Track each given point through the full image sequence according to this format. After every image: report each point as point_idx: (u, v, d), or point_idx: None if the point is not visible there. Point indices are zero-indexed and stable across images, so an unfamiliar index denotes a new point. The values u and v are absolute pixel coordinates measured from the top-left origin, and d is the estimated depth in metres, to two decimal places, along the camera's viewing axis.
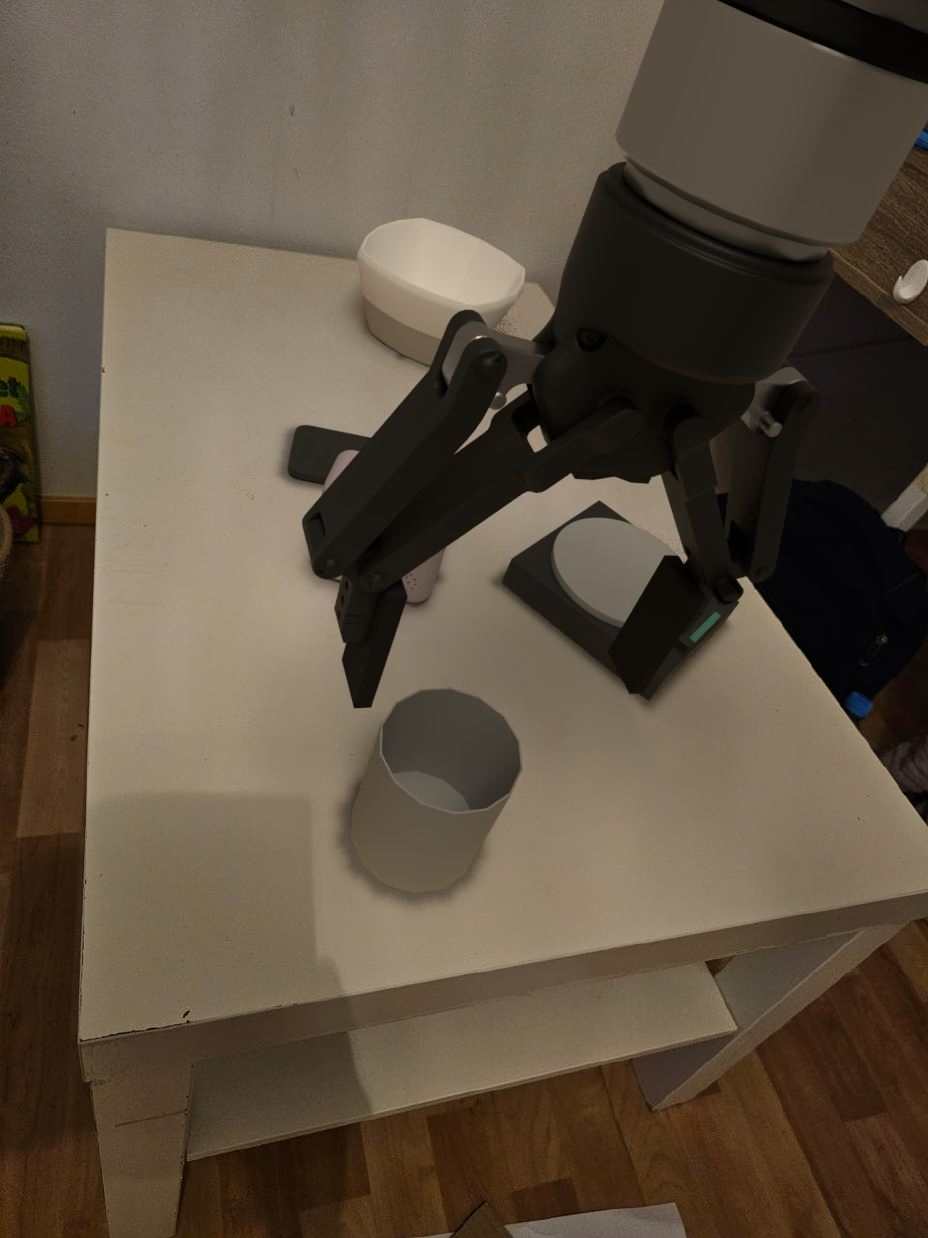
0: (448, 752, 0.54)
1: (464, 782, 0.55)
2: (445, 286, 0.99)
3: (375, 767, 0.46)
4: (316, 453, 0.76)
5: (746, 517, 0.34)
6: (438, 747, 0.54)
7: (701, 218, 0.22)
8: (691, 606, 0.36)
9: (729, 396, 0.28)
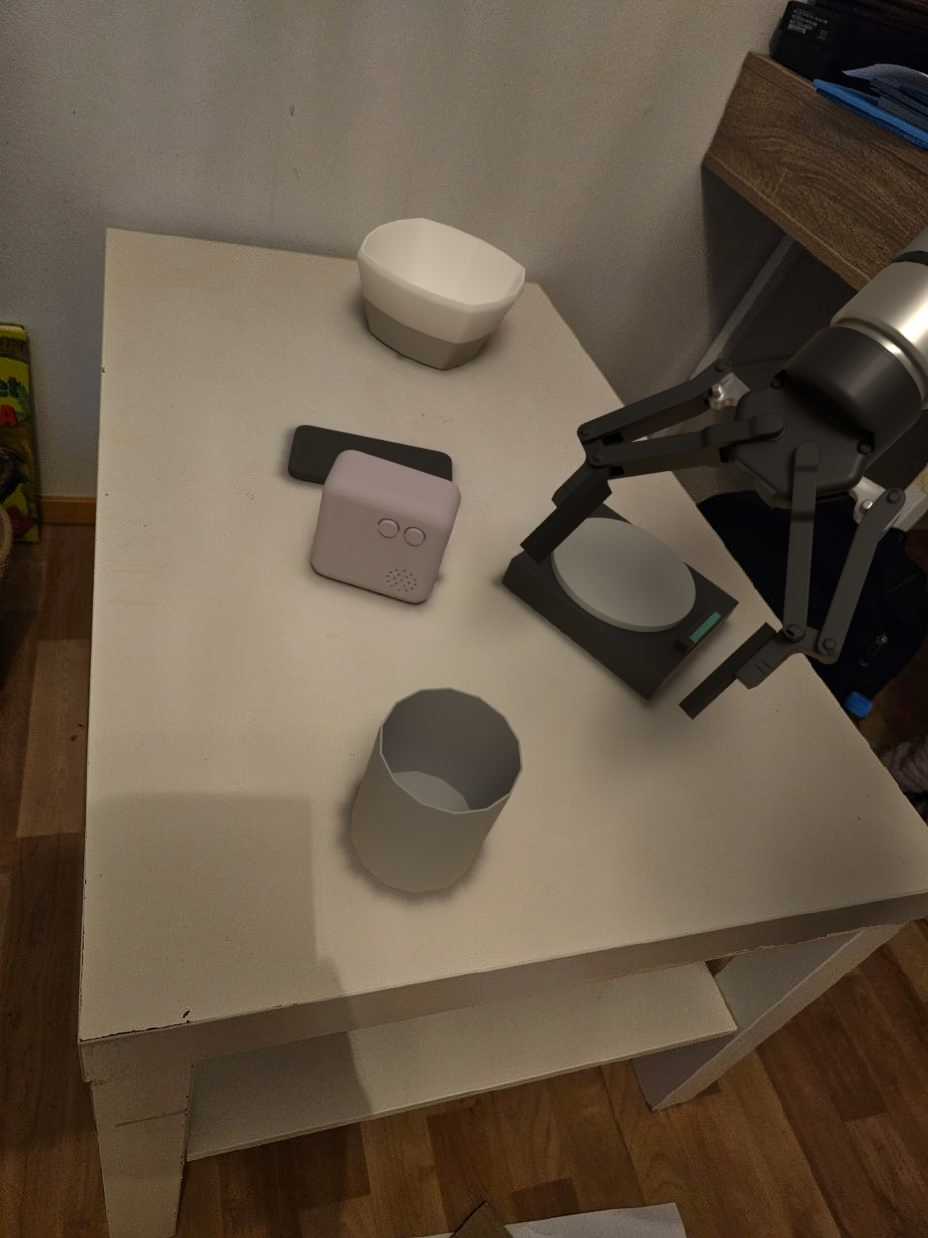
0: (448, 752, 0.54)
1: (464, 782, 0.55)
2: (445, 286, 0.99)
3: (375, 767, 0.46)
4: (316, 453, 0.76)
5: None
6: (438, 747, 0.54)
7: (846, 326, 0.46)
8: (762, 632, 0.45)
9: (842, 460, 0.46)
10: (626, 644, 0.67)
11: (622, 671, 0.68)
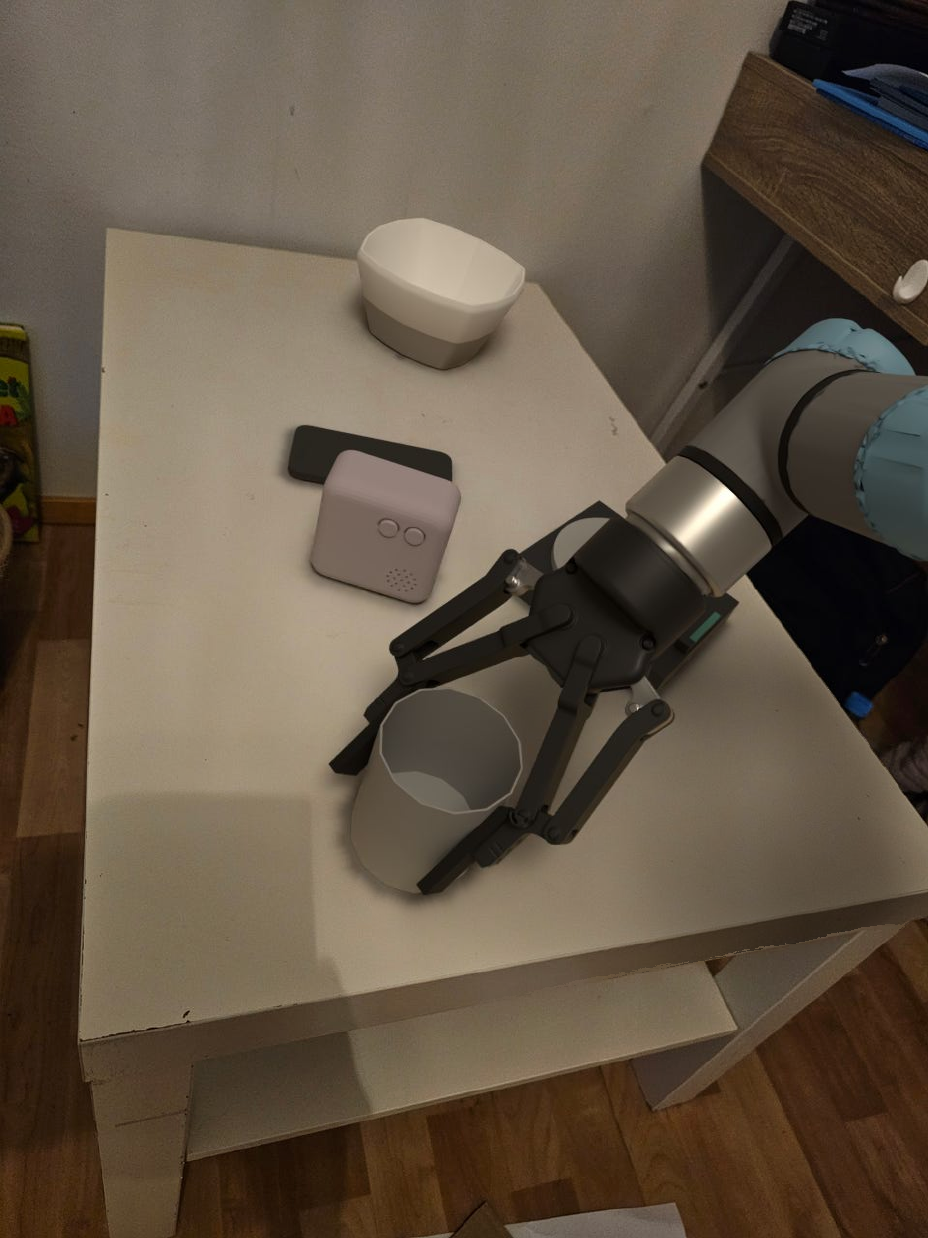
0: (448, 752, 0.54)
1: (464, 782, 0.55)
2: (445, 286, 0.99)
3: (375, 767, 0.46)
4: (316, 453, 0.76)
5: None
6: (438, 747, 0.54)
7: (631, 518, 0.46)
8: (495, 816, 0.46)
9: (627, 655, 0.46)
10: None
11: None
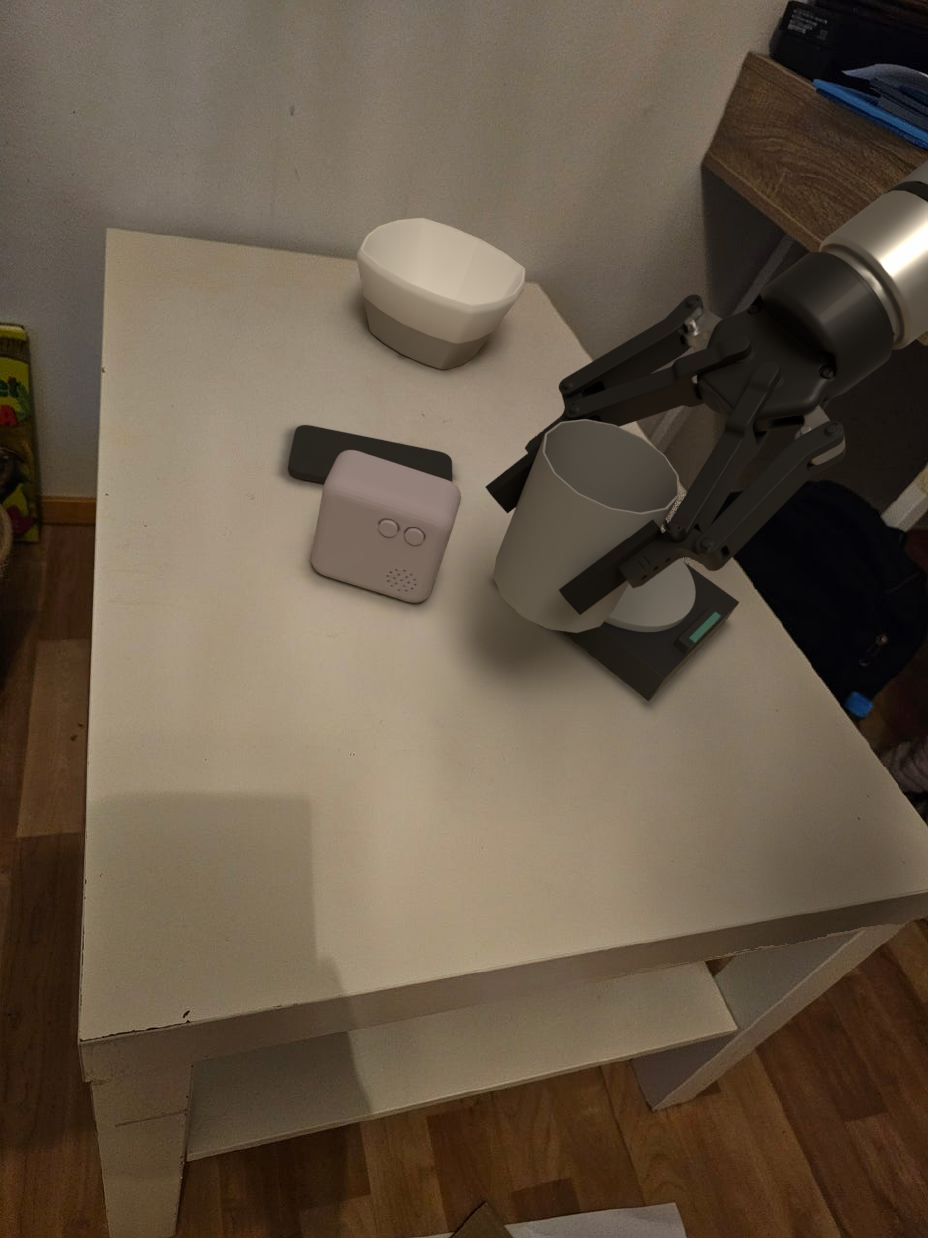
0: None
1: None
2: (445, 286, 0.99)
3: (535, 471, 0.48)
4: (316, 453, 0.76)
5: None
6: None
7: None
8: (647, 528, 0.46)
9: (804, 383, 0.45)
10: (626, 644, 0.67)
11: (622, 671, 0.68)
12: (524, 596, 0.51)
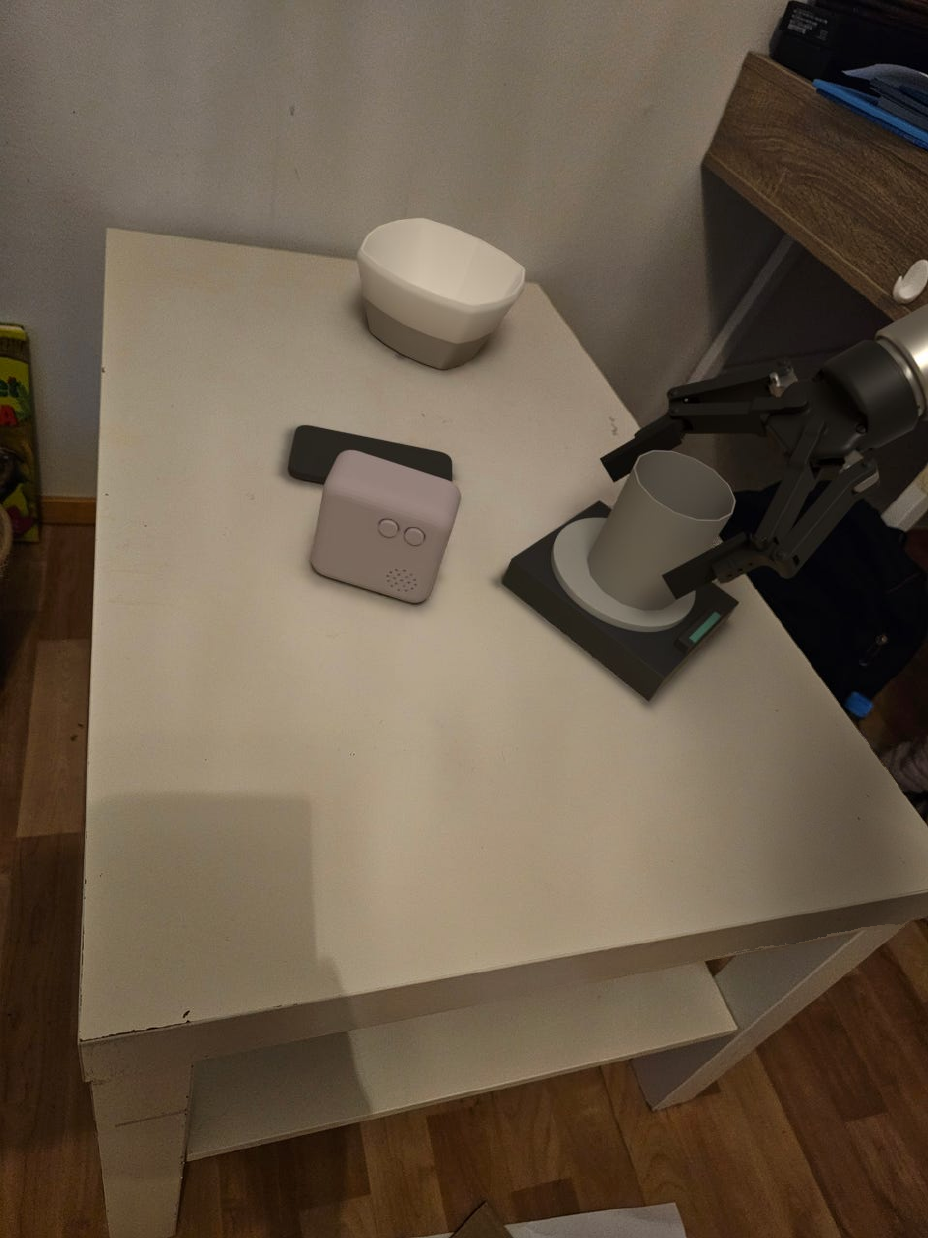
0: None
1: None
2: (445, 286, 0.99)
3: (626, 481, 0.65)
4: (316, 453, 0.76)
5: None
6: None
7: None
8: (737, 537, 0.60)
9: (841, 434, 0.60)
10: (626, 644, 0.67)
11: (622, 671, 0.68)
12: (606, 575, 0.68)
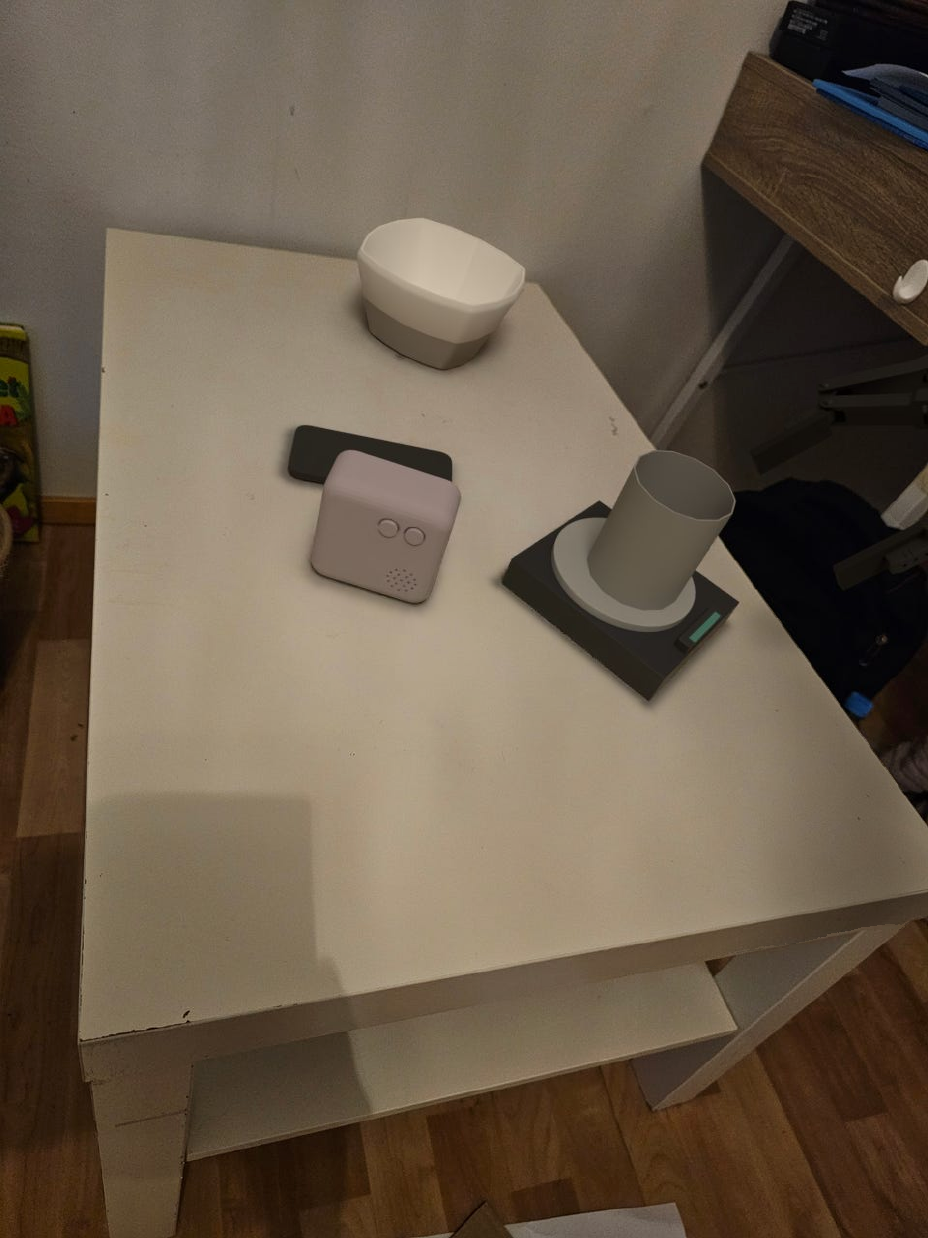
0: None
1: None
2: (445, 286, 0.99)
3: (626, 481, 0.65)
4: (316, 453, 0.76)
5: None
6: None
7: None
8: (914, 527, 0.60)
9: None
10: (626, 644, 0.67)
11: (622, 671, 0.68)
12: (606, 575, 0.68)
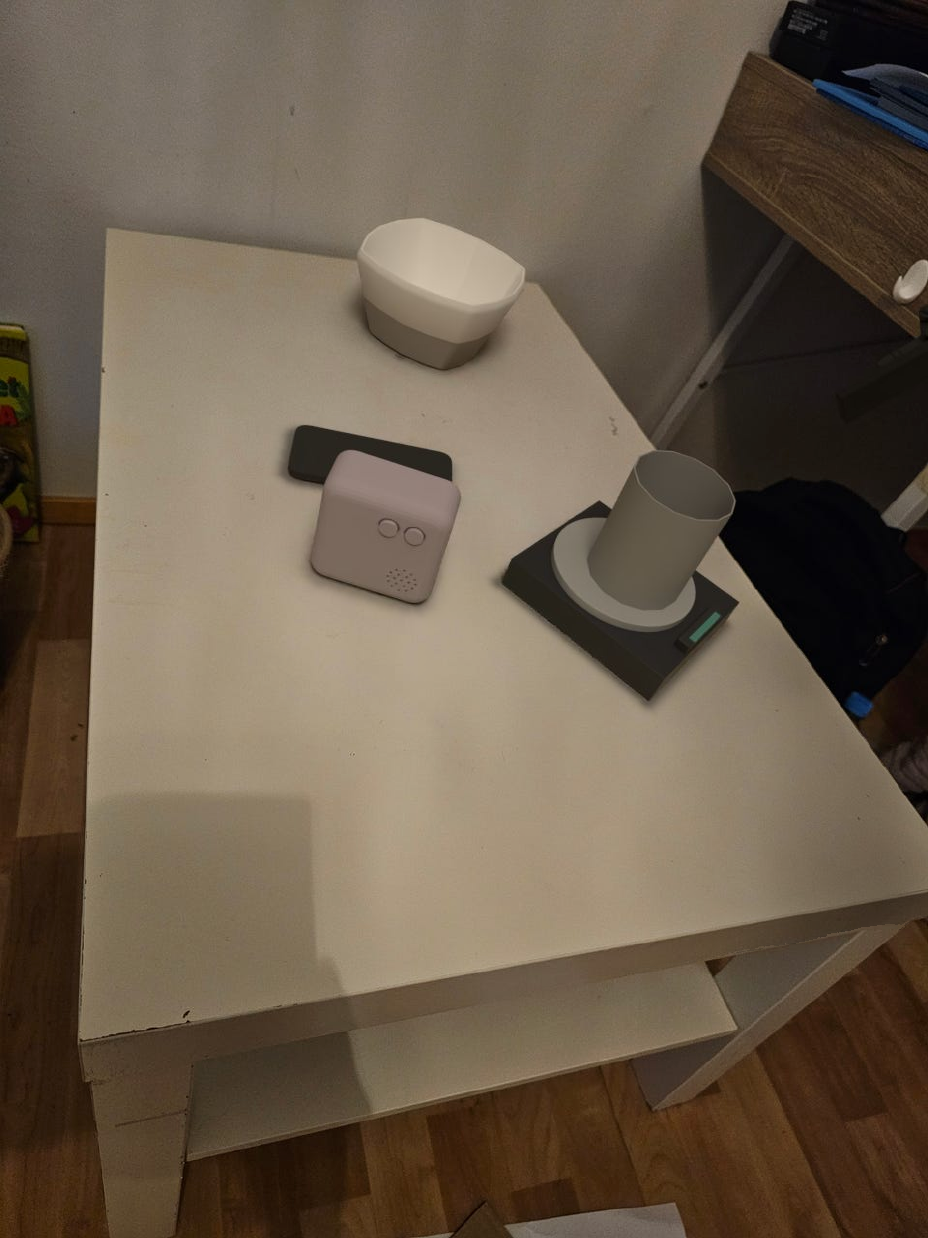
0: None
1: None
2: (445, 286, 0.99)
3: (626, 481, 0.65)
4: (316, 453, 0.76)
5: None
6: None
7: None
8: None
9: None
10: (626, 644, 0.67)
11: (622, 671, 0.68)
12: (606, 575, 0.68)
